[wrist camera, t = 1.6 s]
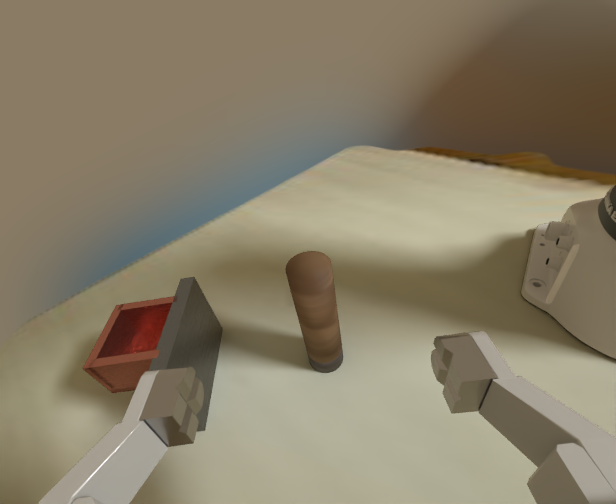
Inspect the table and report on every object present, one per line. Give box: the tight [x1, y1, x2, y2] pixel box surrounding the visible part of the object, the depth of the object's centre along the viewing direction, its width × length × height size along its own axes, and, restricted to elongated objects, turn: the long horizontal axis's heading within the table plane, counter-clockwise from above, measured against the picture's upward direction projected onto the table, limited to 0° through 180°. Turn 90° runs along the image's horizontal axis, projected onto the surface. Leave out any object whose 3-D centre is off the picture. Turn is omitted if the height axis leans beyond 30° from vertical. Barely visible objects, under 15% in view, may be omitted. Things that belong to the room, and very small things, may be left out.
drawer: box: [83, 277, 222, 431], centre depth 32 cm, size 12×8×10 cm, turn 4°
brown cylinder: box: [286, 251, 343, 373], centre depth 29 cm, size 4×4×14 cm
